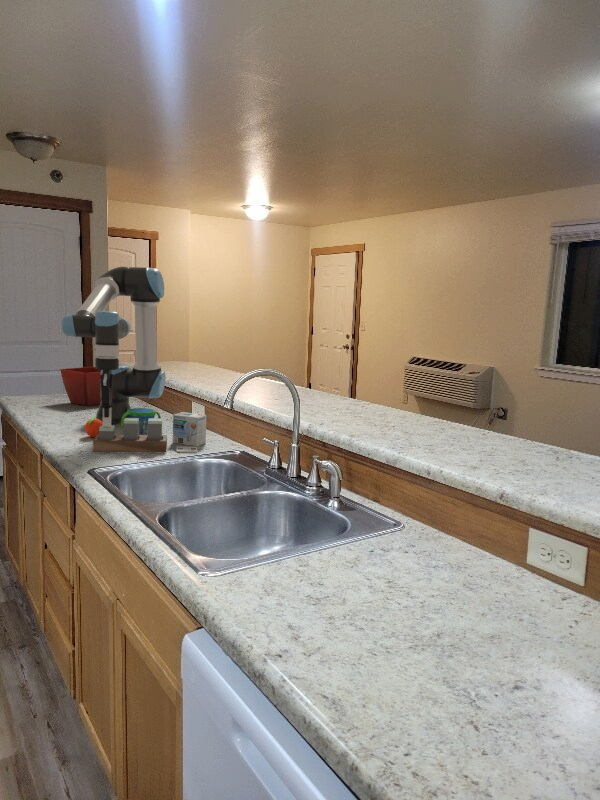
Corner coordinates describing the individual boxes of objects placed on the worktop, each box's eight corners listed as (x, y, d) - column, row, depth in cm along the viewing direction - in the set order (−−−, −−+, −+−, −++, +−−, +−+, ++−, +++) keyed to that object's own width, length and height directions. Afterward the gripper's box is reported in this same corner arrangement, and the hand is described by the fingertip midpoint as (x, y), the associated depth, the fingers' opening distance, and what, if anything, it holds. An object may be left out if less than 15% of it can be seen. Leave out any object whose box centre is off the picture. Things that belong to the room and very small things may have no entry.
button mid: (124, 437, 209) (125, 418, 208) (138, 437, 210) (138, 418, 209) (123, 440, 205) (123, 420, 204) (137, 440, 206) (137, 420, 205)
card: (176, 448, 212) (176, 446, 212) (196, 448, 213) (196, 446, 213) (176, 452, 206) (176, 450, 206) (197, 452, 208) (197, 450, 207)
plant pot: (85, 408, 283) (84, 372, 280) (59, 403, 293) (59, 368, 290) (117, 403, 299) (117, 370, 296) (92, 399, 309) (92, 366, 306)
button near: (101, 445, 208) (101, 425, 207) (114, 445, 209) (114, 425, 208) (99, 448, 204) (99, 428, 203) (113, 448, 205) (113, 428, 204)
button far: (148, 437, 211) (148, 418, 210) (161, 438, 212) (162, 418, 211) (147, 440, 206) (147, 420, 205) (161, 440, 207) (161, 421, 206)
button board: (97, 445, 211) (97, 434, 210) (166, 445, 215) (167, 435, 215) (92, 452, 201) (92, 440, 200) (166, 452, 206) (166, 441, 205)
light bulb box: (171, 443, 220) (172, 414, 219) (181, 439, 227) (182, 411, 225) (197, 446, 217) (198, 417, 215) (206, 443, 223) (207, 414, 221)
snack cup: (156, 432, 237) (156, 406, 236) (165, 437, 229) (166, 411, 227) (116, 435, 229) (116, 408, 227) (125, 440, 220) (125, 413, 219)
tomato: (96, 440, 219) (96, 421, 218) (79, 438, 220) (79, 419, 219) (107, 435, 227) (107, 417, 226) (91, 434, 228) (91, 415, 227)
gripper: (98, 355, 207) (98, 422, 211) (92, 358, 195) (92, 429, 198) (120, 356, 209) (120, 422, 212) (116, 359, 196) (116, 430, 200)
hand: (107, 426), depth 205 cm, fingers closed
